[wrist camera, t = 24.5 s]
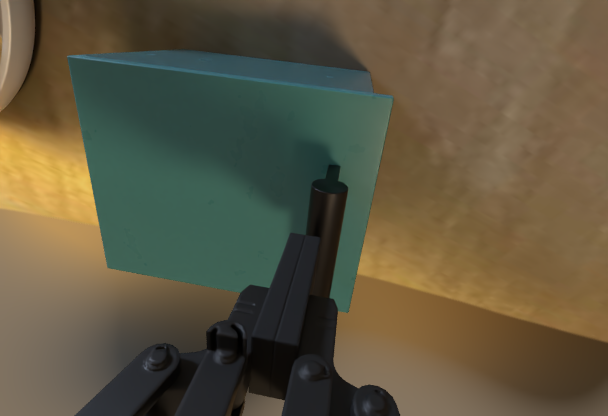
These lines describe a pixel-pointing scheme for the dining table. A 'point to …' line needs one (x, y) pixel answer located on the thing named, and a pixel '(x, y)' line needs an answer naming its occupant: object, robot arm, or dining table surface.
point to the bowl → (15, 46)
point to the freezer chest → (250, 68)
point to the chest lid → (227, 172)
